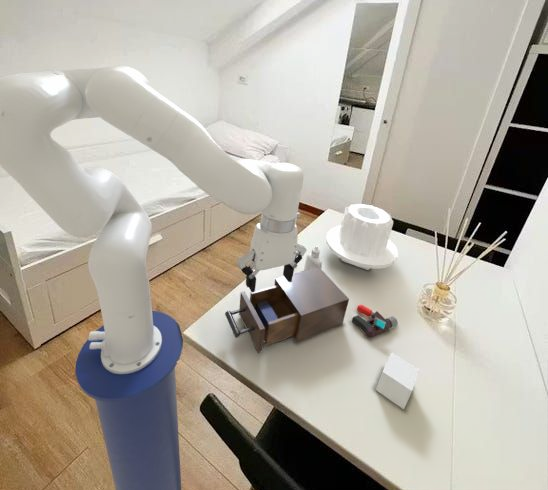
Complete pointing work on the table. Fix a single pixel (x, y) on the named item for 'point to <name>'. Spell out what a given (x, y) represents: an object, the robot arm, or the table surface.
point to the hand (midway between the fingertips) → (269, 283)
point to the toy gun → (373, 322)
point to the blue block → (265, 313)
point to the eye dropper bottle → (313, 259)
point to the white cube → (397, 380)
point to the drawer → (275, 328)
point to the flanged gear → (363, 237)
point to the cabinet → (314, 302)
